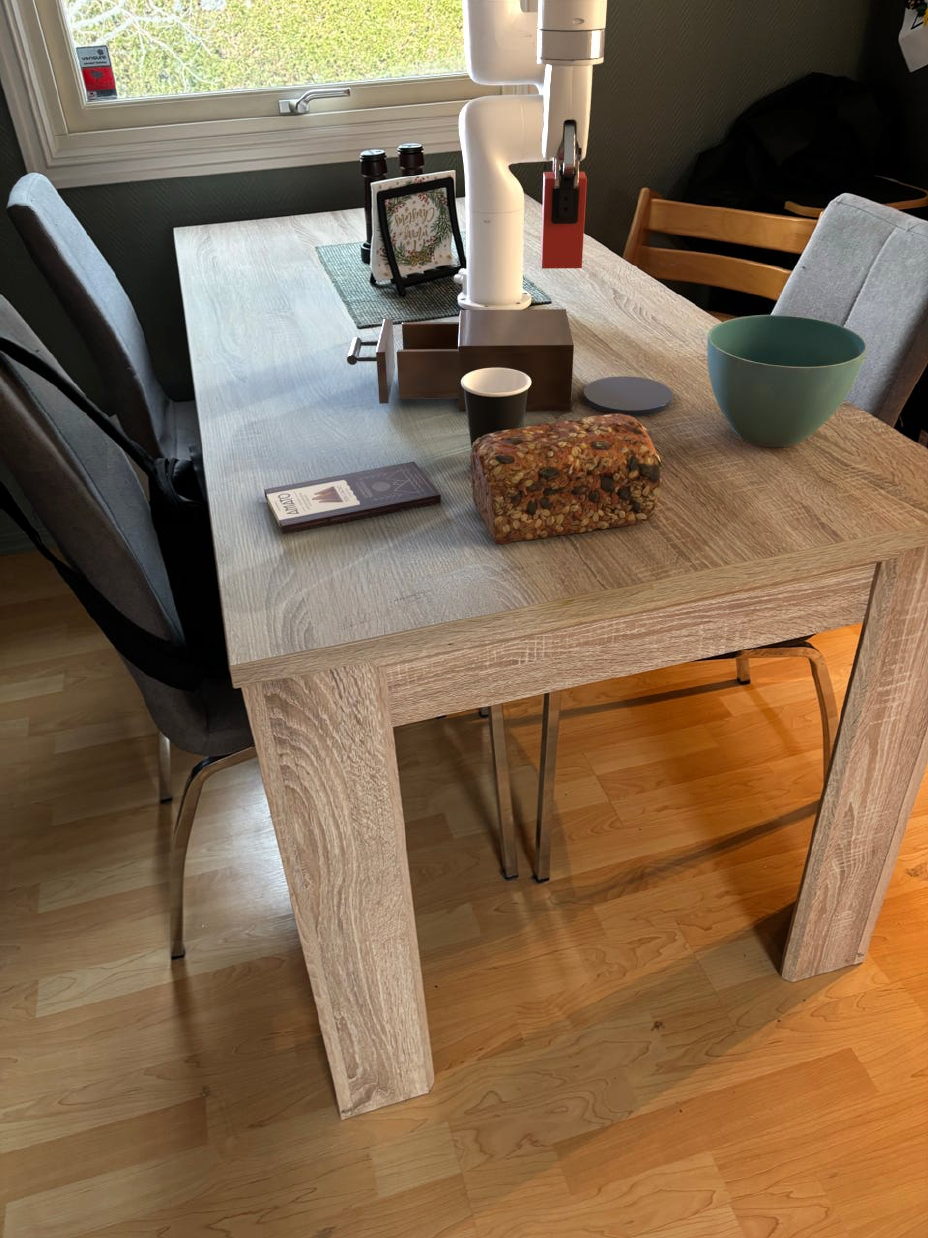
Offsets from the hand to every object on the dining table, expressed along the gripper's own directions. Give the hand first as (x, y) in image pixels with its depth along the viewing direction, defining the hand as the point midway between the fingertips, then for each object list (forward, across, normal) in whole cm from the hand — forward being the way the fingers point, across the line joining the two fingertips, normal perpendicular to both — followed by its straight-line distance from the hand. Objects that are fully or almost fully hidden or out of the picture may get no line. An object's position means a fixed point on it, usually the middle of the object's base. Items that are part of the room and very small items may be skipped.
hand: (563, 216), depth 121 cm
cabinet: (+23, -2, -6) cm, 24 cm away
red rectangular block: (+6, 0, 0) cm, 6 cm away
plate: (+23, +1, +10) cm, 25 cm away
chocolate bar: (+23, +30, -24) cm, 45 cm away
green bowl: (+24, +12, +26) cm, 37 cm away
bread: (+24, +33, -1) cm, 41 cm away
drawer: (+22, -2, -19) cm, 30 cm away
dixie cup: (+24, +22, -8) cm, 33 cm away
